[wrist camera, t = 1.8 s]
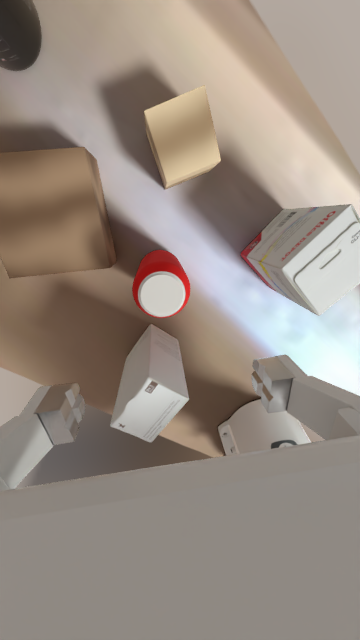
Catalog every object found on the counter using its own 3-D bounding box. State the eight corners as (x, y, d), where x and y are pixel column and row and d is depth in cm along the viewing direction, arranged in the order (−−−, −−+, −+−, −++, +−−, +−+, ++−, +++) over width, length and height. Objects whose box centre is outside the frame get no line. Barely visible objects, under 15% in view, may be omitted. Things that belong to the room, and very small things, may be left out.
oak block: (208, 172, 28) (221, 160, 22) (164, 189, 28) (167, 182, 23) (194, 113, 25) (204, 84, 20) (146, 134, 26) (143, 110, 20)
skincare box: (153, 370, 40) (151, 446, 26) (124, 355, 38) (106, 430, 24) (179, 337, 37) (193, 402, 24) (150, 319, 36) (147, 380, 22)
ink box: (270, 290, 36) (319, 320, 25) (238, 253, 32) (278, 269, 22) (314, 250, 33) (388, 264, 23) (284, 206, 30) (353, 199, 20)
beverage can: (131, 274, 32) (118, 301, 21) (156, 239, 30) (156, 250, 20) (163, 298, 34) (167, 334, 23) (188, 266, 33) (205, 290, 22)
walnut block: (116, 260, 31) (110, 267, 27) (31, 269, 30) (9, 278, 26) (96, 159, 26) (83, 146, 21) (-8, 167, 25) (-43, 155, 21)
